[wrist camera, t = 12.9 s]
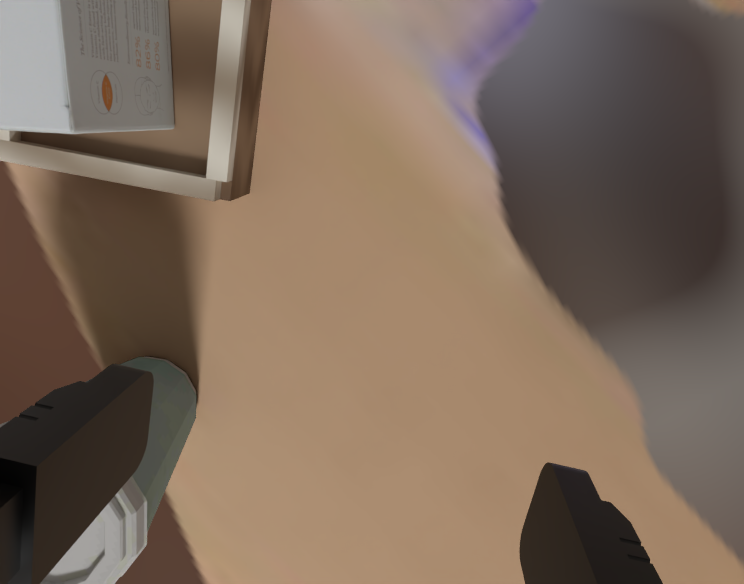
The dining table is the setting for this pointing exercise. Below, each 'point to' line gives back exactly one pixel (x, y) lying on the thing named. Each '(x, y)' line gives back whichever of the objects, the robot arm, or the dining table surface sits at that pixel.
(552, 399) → the dining table surface
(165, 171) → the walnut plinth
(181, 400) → the disposable coffee cup
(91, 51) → the small box
